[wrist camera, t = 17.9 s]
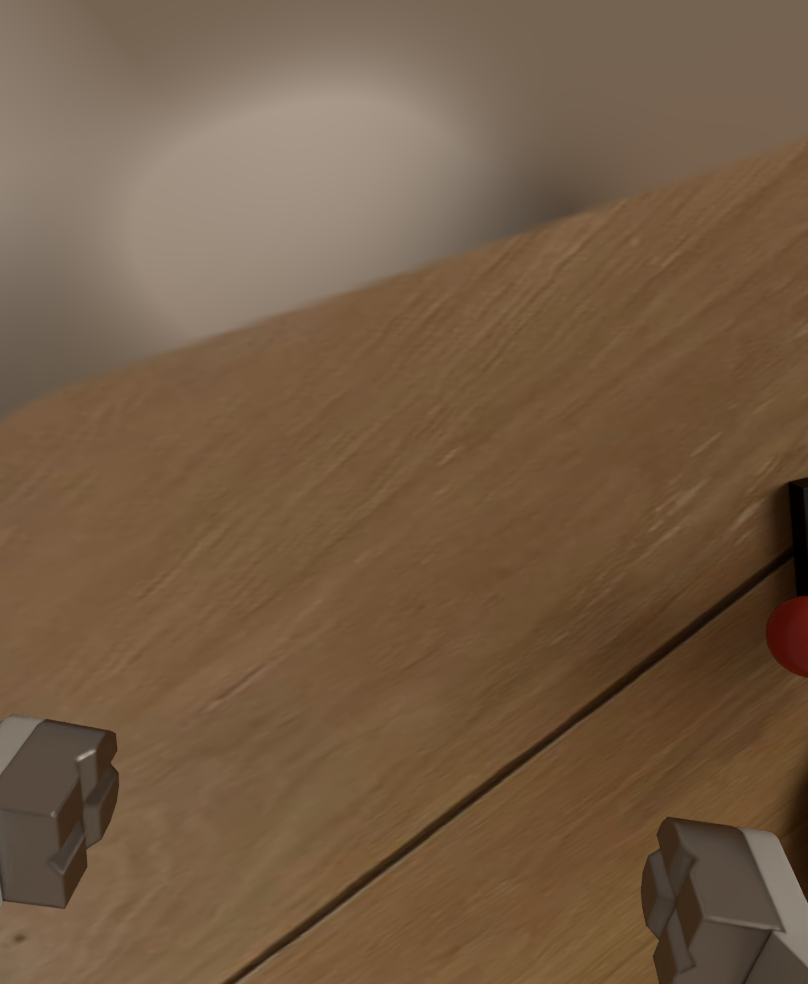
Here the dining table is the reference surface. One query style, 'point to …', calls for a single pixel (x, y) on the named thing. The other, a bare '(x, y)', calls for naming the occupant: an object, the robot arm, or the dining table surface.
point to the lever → (790, 635)
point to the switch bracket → (800, 532)
